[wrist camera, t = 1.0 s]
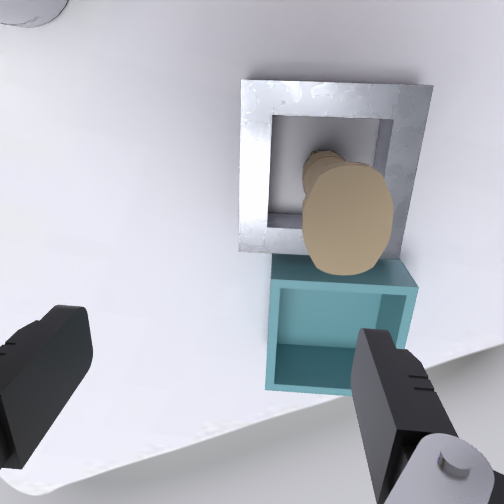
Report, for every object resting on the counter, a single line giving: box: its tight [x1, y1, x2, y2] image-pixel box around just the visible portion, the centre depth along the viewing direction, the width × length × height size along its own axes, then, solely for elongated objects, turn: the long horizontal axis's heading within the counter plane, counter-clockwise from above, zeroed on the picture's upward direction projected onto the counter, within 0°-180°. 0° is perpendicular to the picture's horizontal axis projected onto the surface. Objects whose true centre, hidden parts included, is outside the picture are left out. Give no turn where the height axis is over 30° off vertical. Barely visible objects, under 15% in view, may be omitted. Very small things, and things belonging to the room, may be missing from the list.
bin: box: [265, 253, 419, 396], centre depth 38 cm, size 12×12×7 cm
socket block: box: [239, 79, 433, 260], centre depth 33 cm, size 14×14×4 cm
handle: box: [302, 150, 393, 275], centre depth 28 cm, size 5×6×15 cm
